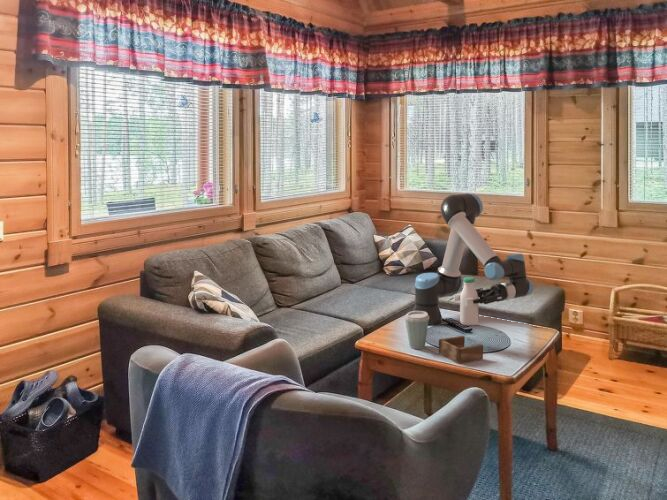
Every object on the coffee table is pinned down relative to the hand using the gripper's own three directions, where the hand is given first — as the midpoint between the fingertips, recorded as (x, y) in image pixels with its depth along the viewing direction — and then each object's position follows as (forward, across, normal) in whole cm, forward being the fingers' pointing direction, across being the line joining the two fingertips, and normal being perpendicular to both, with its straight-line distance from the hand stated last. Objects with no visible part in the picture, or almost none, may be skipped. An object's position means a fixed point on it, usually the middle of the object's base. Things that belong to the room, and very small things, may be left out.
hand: (460, 300), depth 254 cm
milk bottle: (-5, 0, -11) cm, 12 cm away
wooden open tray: (+7, -9, -21) cm, 24 cm away
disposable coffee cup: (+16, +9, -21) cm, 28 cm away
